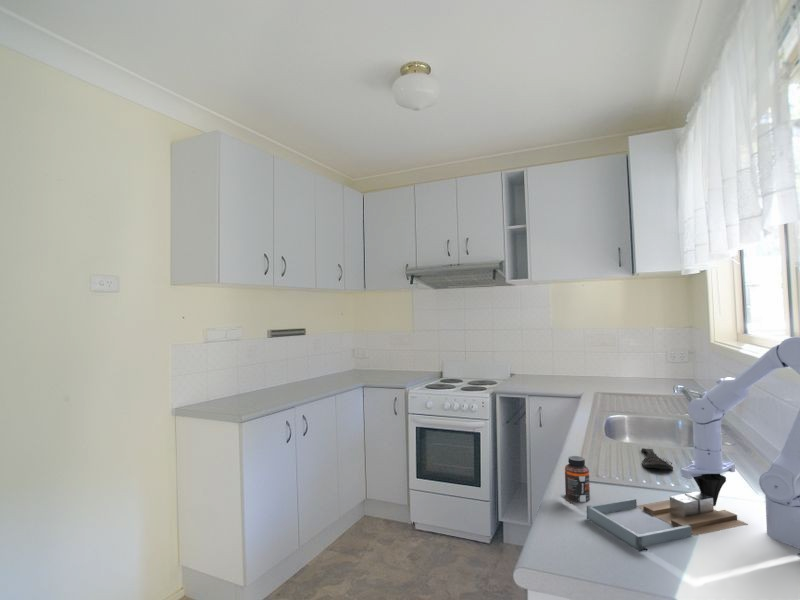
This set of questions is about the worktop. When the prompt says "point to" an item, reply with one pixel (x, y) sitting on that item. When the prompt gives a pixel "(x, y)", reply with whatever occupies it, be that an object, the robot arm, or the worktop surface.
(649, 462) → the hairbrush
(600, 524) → the tray
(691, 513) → the chip
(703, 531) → the slot board
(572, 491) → the supplement bottle
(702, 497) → the chip
